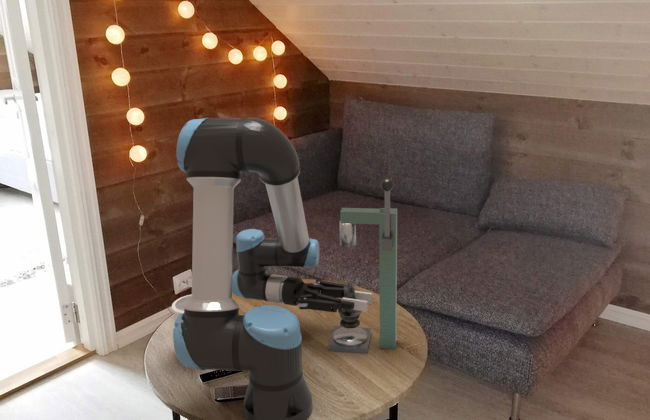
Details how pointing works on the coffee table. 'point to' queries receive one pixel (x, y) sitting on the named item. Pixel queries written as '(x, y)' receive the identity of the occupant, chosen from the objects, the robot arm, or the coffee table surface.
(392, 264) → the arbor press
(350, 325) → the dark chess piece
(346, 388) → the coffee table surface
